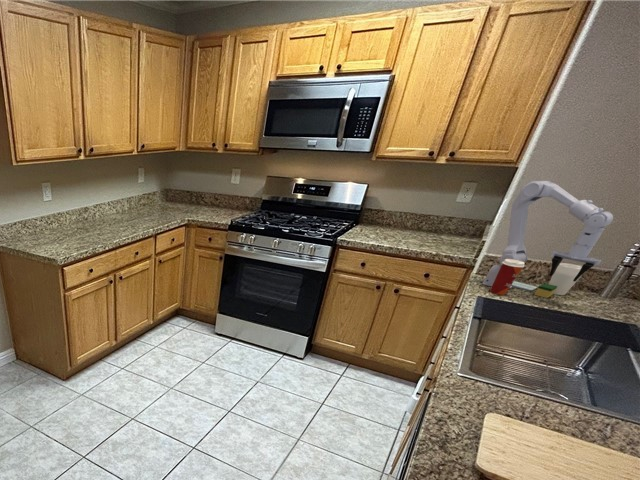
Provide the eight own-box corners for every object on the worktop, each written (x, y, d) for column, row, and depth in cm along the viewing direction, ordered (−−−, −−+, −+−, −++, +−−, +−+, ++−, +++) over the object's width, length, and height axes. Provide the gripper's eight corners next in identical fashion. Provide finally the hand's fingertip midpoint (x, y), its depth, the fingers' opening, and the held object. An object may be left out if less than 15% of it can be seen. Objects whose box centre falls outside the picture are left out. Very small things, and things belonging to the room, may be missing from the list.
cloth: (502, 283, 194) (503, 282, 193) (508, 281, 197) (509, 279, 197) (530, 291, 186) (531, 290, 186) (537, 288, 190) (537, 286, 190)
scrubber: (546, 298, 180) (552, 289, 177) (534, 294, 183) (539, 286, 180) (552, 295, 183) (557, 286, 181) (539, 291, 186) (544, 283, 184)
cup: (564, 291, 188) (581, 265, 181) (571, 297, 181) (589, 270, 174) (540, 287, 191) (555, 261, 184) (545, 293, 184) (562, 267, 178)
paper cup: (508, 297, 179) (526, 265, 171) (486, 292, 183) (503, 261, 175) (508, 292, 184) (525, 261, 177) (487, 288, 188) (503, 257, 180)
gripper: (557, 241, 166) (537, 274, 173) (605, 250, 156) (582, 285, 163) (562, 239, 169) (543, 271, 177) (610, 248, 159) (587, 282, 167)
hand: (562, 278), depth 170 cm, fingers open, 7 cm apart
